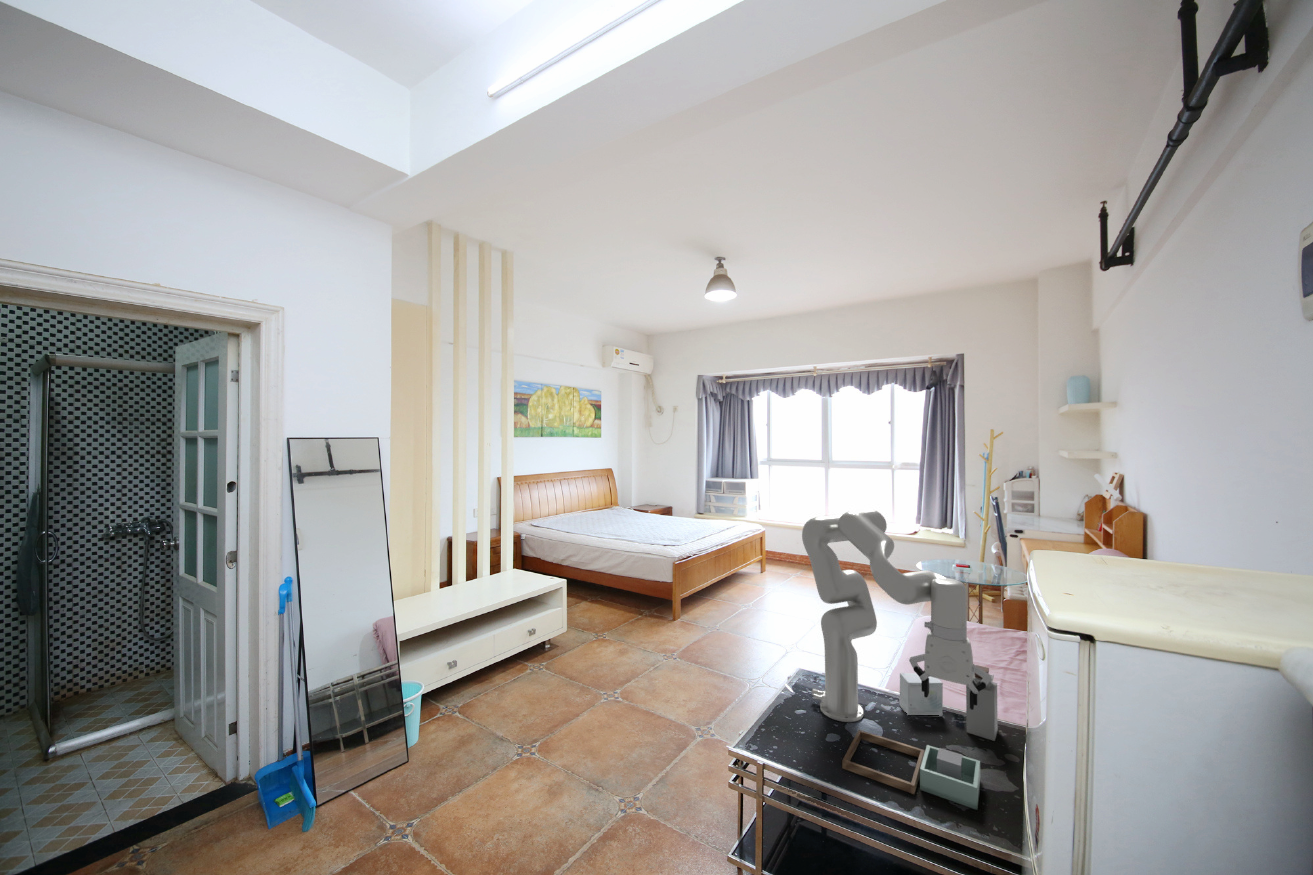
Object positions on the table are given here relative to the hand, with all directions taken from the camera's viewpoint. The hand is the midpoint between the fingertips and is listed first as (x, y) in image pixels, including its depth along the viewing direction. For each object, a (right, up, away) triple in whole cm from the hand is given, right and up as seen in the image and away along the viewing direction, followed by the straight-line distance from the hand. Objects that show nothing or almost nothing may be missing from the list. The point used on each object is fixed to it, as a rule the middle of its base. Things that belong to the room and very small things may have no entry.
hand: (948, 700), depth 123 cm
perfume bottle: (+22, -20, +22) cm, 37 cm away
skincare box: (+10, -20, +33) cm, 40 cm away
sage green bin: (0, -20, 0) cm, 20 cm away
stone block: (0, -19, 0) cm, 19 cm away
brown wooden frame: (-12, -20, +8) cm, 25 cm away
